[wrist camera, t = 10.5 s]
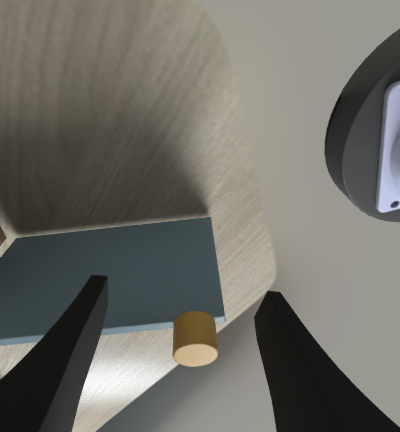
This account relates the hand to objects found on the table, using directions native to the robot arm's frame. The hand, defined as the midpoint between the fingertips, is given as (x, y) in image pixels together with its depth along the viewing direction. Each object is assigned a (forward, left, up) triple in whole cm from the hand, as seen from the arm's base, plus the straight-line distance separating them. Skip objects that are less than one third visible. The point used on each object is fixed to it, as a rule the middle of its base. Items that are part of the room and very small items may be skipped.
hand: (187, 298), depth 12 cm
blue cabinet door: (+6, 0, -8) cm, 10 cm away
